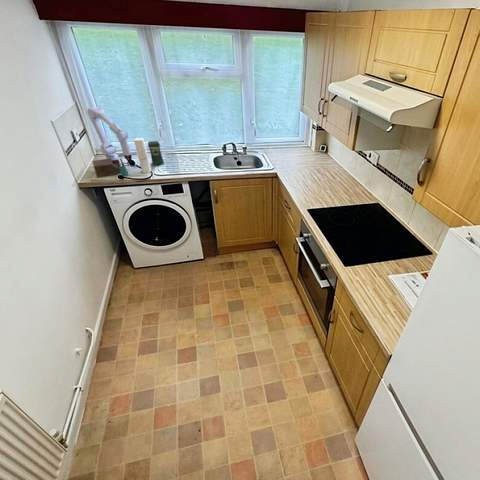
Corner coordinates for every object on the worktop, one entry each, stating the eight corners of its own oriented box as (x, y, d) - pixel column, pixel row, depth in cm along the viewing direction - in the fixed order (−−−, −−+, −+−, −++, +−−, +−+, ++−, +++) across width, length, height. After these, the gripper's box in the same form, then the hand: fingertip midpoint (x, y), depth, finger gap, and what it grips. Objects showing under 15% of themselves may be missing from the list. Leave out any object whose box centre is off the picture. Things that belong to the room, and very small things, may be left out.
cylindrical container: (152, 169, 248) (144, 138, 232) (149, 172, 242) (141, 140, 227) (144, 169, 248) (135, 137, 232) (140, 172, 242) (132, 140, 227)
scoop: (127, 173, 240) (123, 161, 234) (128, 175, 237) (124, 163, 231) (115, 175, 236) (111, 163, 230) (116, 177, 233) (112, 165, 227)
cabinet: (114, 168, 247) (111, 158, 242) (116, 174, 238) (112, 163, 232) (96, 171, 242) (92, 160, 237) (97, 177, 232) (93, 166, 227)
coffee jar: (163, 161, 264) (159, 139, 252) (164, 164, 258) (159, 142, 246) (152, 162, 261) (147, 140, 250) (152, 165, 255) (147, 143, 244)
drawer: (129, 166, 251) (126, 157, 247) (131, 171, 242) (128, 162, 238) (107, 168, 245) (104, 160, 240) (109, 174, 236) (106, 165, 231)
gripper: (116, 150, 231) (121, 167, 239) (135, 147, 236) (140, 164, 245) (115, 147, 235) (120, 164, 244) (134, 145, 241) (138, 162, 250)
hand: (130, 164), depth 245 cm, fingers closed
